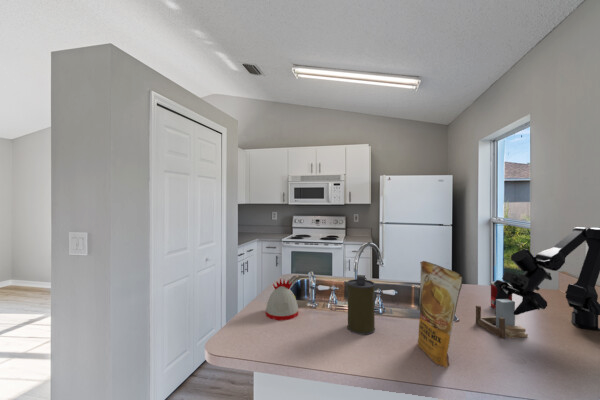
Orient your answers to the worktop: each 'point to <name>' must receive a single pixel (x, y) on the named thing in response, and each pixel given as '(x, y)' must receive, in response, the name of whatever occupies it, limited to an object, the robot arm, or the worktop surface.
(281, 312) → the beanie hat
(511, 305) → the grey rectangular block
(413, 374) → the worktop surface
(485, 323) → the rack
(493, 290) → the canned food
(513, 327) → the offcut stack
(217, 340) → the worktop surface
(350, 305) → the canister
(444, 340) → the pancake mix bag
